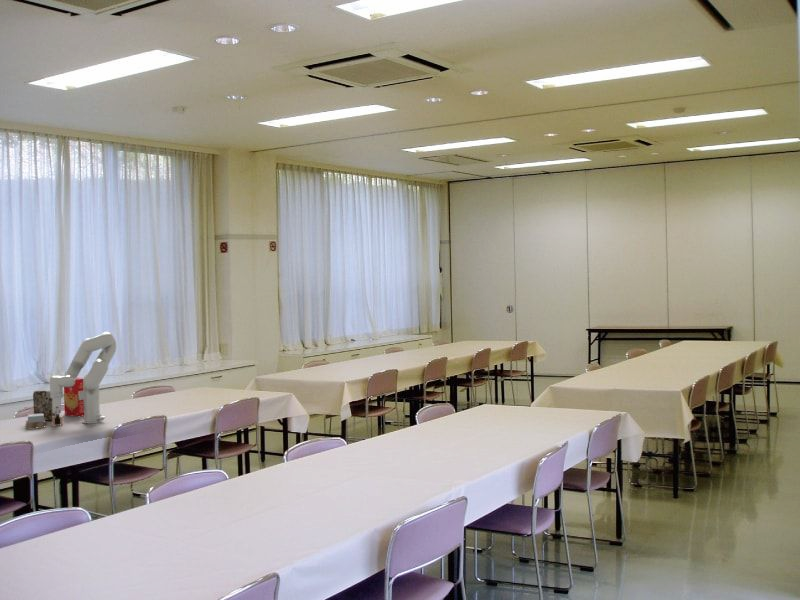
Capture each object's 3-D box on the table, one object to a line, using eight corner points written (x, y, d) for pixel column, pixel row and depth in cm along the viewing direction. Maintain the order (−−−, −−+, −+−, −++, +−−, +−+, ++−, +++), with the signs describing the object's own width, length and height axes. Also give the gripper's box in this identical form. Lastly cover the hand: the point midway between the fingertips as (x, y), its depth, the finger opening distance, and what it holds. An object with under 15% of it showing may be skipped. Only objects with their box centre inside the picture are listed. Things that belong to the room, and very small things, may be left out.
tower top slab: (43, 419, 520) (43, 413, 520) (44, 421, 512) (43, 415, 512) (27, 420, 516) (27, 414, 516) (28, 423, 508) (28, 416, 508)
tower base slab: (44, 425, 521) (44, 419, 521) (45, 428, 511) (45, 421, 511) (26, 426, 516) (25, 420, 516) (26, 429, 507) (26, 423, 506)
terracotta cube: (61, 423, 523) (61, 415, 523) (62, 425, 518) (62, 416, 518) (52, 424, 521) (52, 415, 520) (53, 425, 516) (52, 417, 516)
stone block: (57, 419, 539) (56, 389, 538) (53, 421, 532) (52, 391, 531) (36, 419, 538) (36, 389, 538) (32, 421, 531) (31, 391, 531)
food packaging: (64, 414, 555) (63, 378, 554) (71, 413, 560) (70, 377, 559) (78, 416, 548) (77, 379, 547) (85, 415, 552) (84, 378, 551)
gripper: (49, 393, 525) (50, 421, 525) (50, 397, 509) (51, 426, 510) (61, 393, 528) (62, 420, 529) (63, 396, 513) (64, 425, 513)
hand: (57, 423), depth 519 cm, fingers closed on terracotta cube, 5 cm apart
